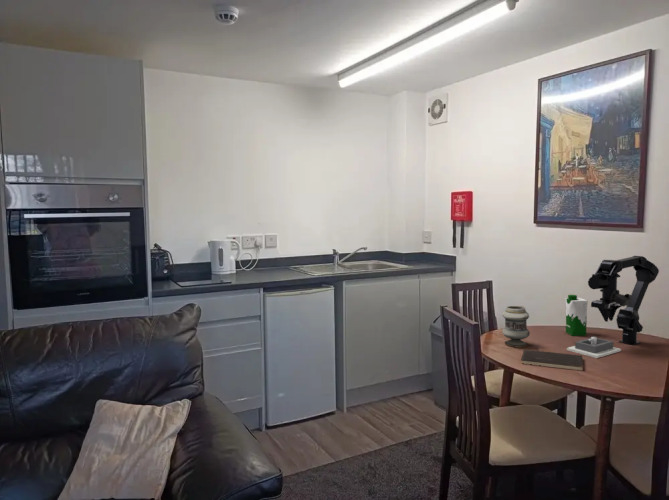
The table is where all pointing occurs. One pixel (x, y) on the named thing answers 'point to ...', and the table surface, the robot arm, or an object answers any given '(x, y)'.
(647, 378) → the table surface
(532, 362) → the hardcover book
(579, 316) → the milk carton
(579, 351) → the hook board
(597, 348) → the grey rectangular frame
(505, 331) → the apothecary jar
